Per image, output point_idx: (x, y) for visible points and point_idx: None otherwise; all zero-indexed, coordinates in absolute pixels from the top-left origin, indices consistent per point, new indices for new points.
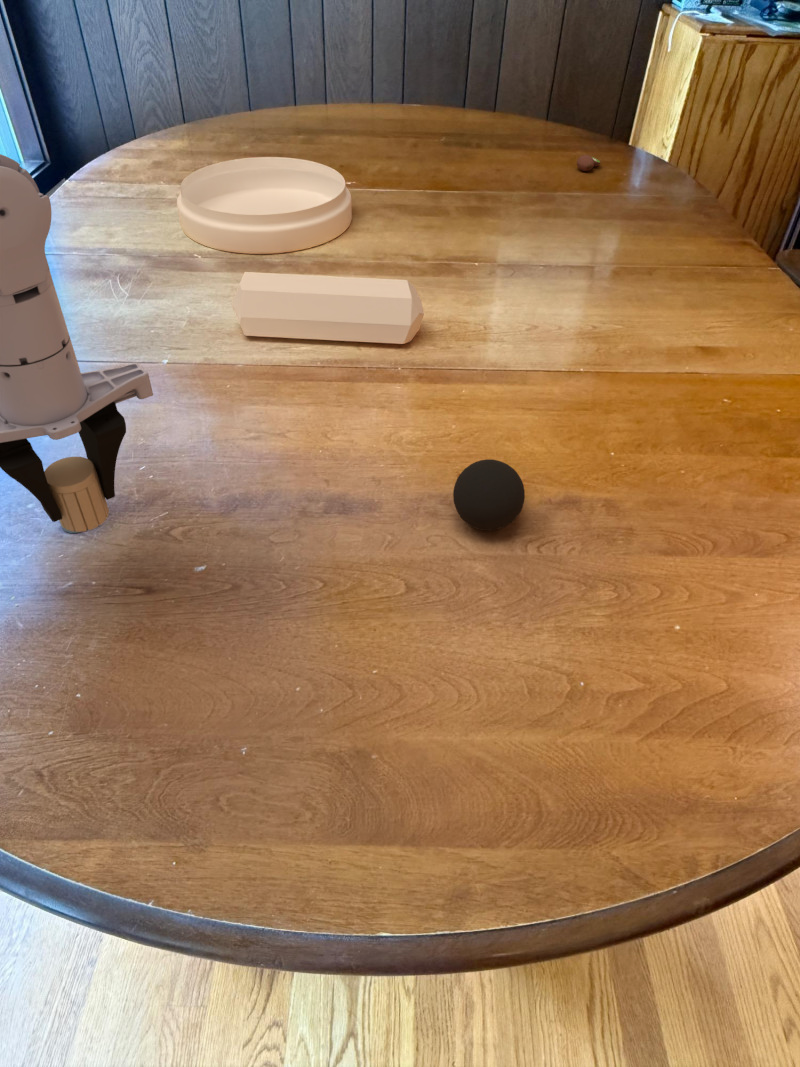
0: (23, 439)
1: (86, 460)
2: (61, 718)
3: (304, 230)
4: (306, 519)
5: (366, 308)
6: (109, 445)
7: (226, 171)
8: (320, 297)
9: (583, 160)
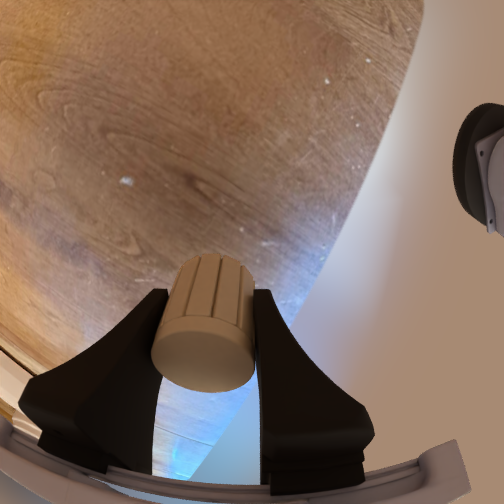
0: (275, 485)
1: (162, 370)
2: (353, 67)
3: (30, 421)
4: (24, 192)
5: None
6: (78, 374)
7: None
8: (2, 385)
9: None
